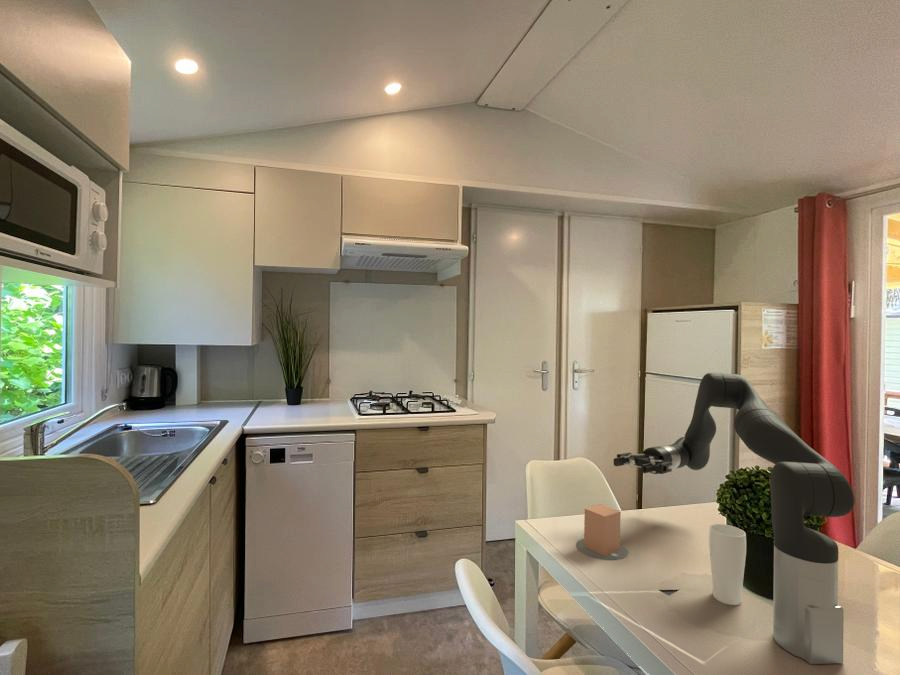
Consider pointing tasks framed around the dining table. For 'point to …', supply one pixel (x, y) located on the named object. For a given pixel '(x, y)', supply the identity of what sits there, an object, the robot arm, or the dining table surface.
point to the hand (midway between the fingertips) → (628, 465)
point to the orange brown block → (602, 529)
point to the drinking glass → (727, 562)
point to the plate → (613, 556)
